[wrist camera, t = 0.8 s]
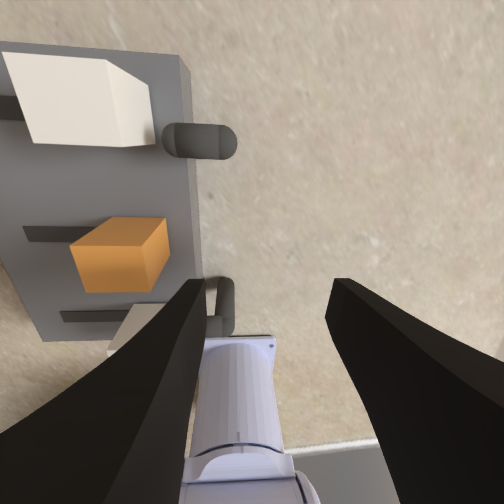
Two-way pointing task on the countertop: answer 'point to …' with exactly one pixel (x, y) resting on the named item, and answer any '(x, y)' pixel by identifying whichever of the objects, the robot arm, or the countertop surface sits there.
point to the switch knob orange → (122, 255)
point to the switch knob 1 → (80, 101)
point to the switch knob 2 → (133, 324)
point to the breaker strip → (93, 200)
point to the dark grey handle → (207, 147)
